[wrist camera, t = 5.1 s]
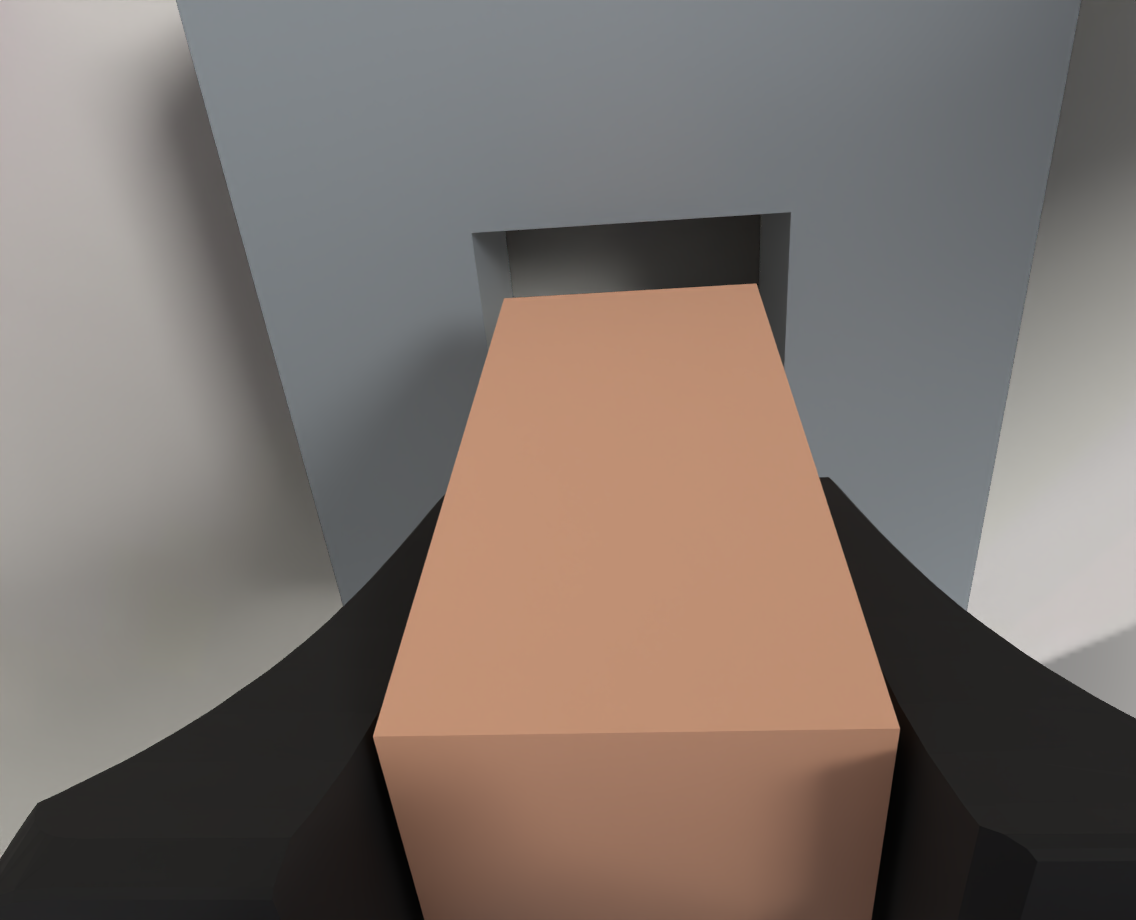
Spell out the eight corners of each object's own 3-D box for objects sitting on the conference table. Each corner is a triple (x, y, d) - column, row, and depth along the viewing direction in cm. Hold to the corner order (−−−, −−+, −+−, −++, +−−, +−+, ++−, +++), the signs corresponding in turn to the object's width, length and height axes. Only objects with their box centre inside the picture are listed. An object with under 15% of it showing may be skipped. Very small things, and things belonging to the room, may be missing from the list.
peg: (756, 283, 14) (900, 729, 7) (751, 495, 17) (856, 1016, 9) (503, 298, 15) (373, 737, 7) (530, 503, 17) (449, 1011, 9)
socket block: (1003, -99, 17) (1099, -94, 13) (915, 526, 24) (962, 631, 21) (259, -30, 18) (172, -10, 15) (391, 544, 25) (354, 646, 22)
